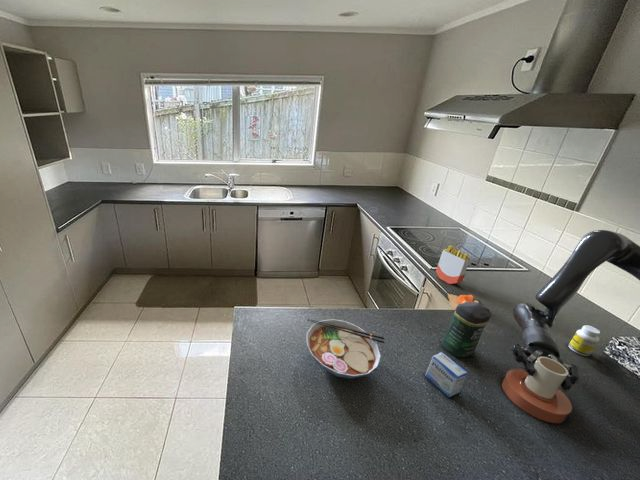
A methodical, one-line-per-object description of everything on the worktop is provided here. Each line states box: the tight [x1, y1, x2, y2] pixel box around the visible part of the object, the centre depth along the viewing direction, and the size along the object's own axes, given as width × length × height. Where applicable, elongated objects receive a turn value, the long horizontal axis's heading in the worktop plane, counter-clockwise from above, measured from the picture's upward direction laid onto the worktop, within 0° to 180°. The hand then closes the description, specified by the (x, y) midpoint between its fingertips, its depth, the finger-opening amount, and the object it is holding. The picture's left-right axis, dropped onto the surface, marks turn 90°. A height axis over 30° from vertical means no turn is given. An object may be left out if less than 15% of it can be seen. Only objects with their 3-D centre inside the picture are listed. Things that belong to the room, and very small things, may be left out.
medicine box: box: [425, 352, 469, 398], centre depth 83 cm, size 8×4×9 cm, turn 23°
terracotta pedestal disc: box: [501, 368, 573, 424], centre depth 81 cm, size 14×14×4 cm
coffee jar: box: [441, 301, 492, 358], centre depth 95 cm, size 10×8×19 cm
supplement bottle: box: [568, 324, 601, 357], centre depth 98 cm, size 5×5×10 cm
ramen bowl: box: [306, 318, 385, 379], centre depth 90 cm, size 25×23×8 cm
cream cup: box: [525, 357, 568, 399], centre depth 79 cm, size 6×6×9 cm
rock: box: [447, 292, 480, 310], centre depth 121 cm, size 12×12×4 cm
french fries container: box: [435, 245, 471, 285], centre depth 136 cm, size 5×11×18 cm, turn 21°
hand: (548, 380), depth 76 cm, fingers closed on cream cup, 6 cm apart
